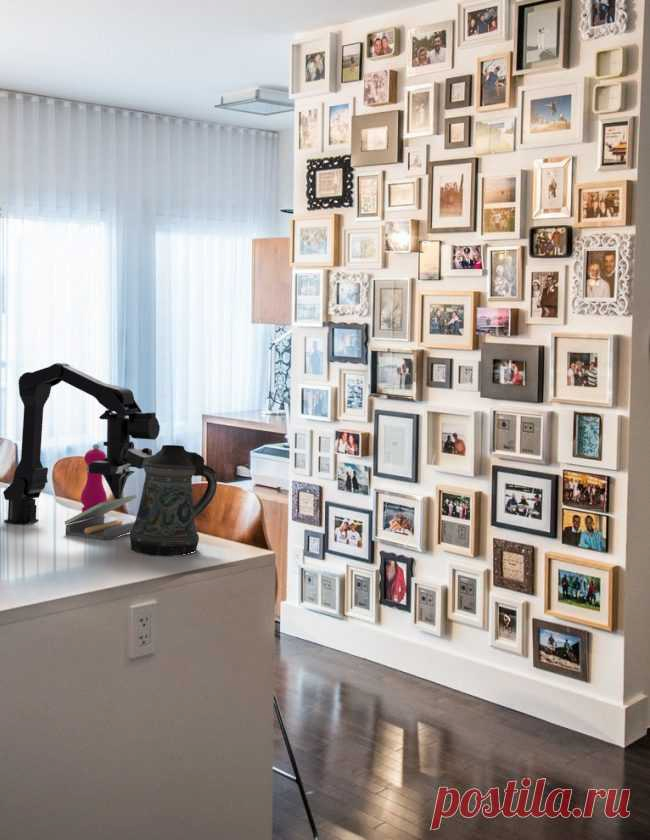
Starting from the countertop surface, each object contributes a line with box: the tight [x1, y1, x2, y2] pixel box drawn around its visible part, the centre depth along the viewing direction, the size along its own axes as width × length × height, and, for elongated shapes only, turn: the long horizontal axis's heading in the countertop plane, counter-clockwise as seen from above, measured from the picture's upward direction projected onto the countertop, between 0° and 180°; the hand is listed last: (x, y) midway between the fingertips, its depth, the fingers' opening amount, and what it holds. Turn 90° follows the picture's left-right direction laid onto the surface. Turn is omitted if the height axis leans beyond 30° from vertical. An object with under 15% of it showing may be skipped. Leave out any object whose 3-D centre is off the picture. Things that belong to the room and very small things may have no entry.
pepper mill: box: [80, 443, 108, 513], centre depth 285 cm, size 7×7×20 cm
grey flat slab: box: [65, 516, 135, 541], centre depth 259 cm, size 12×16×2 cm
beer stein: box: [129, 444, 218, 557], centre depth 243 cm, size 16×19×25 cm
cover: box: [64, 494, 137, 526], centre depth 259 cm, size 12×16×1 cm
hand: (117, 499), depth 258 cm, fingers closed, pressing on cover
